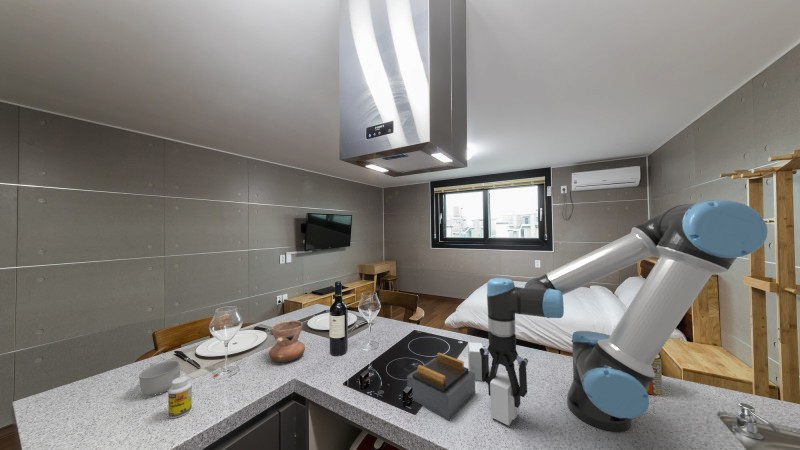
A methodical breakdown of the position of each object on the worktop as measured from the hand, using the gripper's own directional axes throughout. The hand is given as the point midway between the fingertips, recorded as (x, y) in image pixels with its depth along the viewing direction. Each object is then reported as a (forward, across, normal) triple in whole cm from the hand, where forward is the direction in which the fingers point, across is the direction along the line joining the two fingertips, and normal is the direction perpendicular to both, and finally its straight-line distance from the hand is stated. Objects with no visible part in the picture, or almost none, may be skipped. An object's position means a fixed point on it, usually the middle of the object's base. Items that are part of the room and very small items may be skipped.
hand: (504, 411), depth 76 cm
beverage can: (+2, -30, -45) cm, 54 cm away
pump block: (+1, 0, 0) cm, 1 cm away
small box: (+2, +16, -15) cm, 22 cm away
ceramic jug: (+1, +85, +26) cm, 89 cm away
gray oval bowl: (+1, +97, +67) cm, 118 cm away
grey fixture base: (+1, +19, +4) cm, 20 cm away
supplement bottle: (+1, +75, +64) cm, 99 cm away
